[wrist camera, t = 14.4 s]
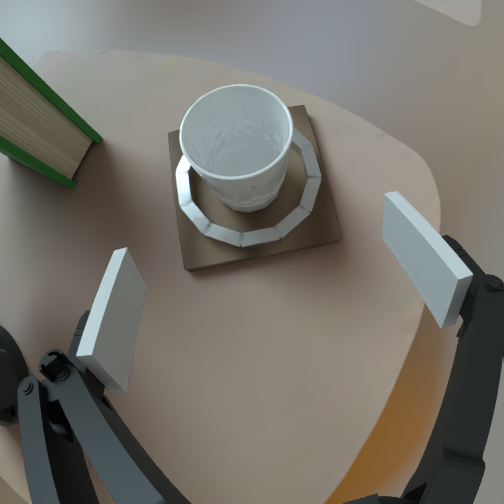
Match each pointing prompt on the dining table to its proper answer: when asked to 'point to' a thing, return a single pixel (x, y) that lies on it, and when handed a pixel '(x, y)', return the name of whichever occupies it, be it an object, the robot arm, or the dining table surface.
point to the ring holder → (261, 221)
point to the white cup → (239, 144)
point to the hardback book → (39, 123)
